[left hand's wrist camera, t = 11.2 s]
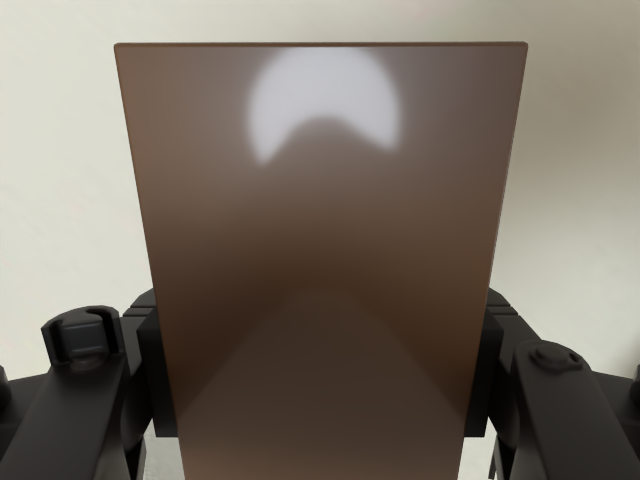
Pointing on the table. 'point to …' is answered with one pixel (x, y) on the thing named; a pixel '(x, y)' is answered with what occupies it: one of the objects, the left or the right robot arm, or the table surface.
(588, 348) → the table surface
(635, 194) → the table surface
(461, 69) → the post
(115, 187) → the table surface
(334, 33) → the table surface
